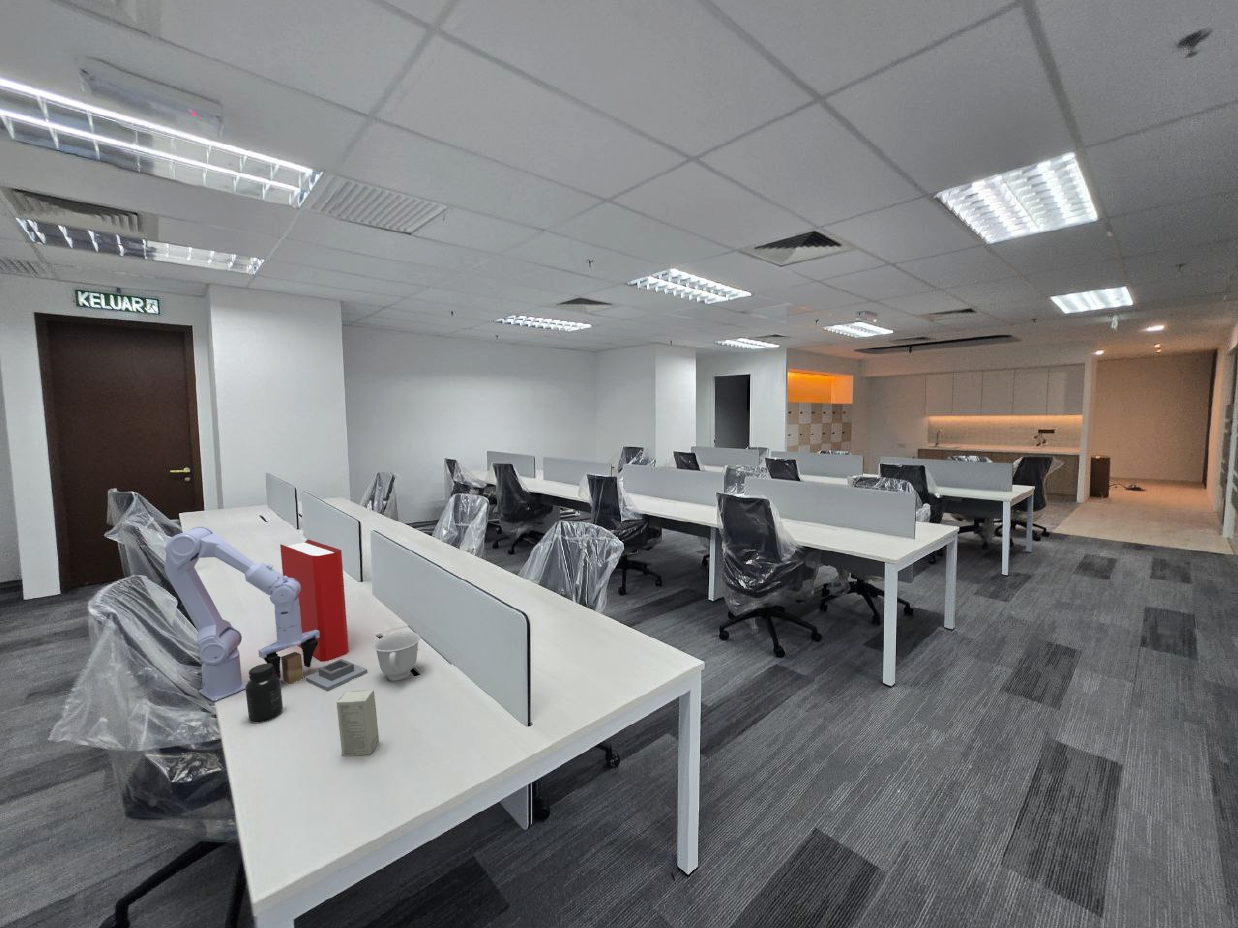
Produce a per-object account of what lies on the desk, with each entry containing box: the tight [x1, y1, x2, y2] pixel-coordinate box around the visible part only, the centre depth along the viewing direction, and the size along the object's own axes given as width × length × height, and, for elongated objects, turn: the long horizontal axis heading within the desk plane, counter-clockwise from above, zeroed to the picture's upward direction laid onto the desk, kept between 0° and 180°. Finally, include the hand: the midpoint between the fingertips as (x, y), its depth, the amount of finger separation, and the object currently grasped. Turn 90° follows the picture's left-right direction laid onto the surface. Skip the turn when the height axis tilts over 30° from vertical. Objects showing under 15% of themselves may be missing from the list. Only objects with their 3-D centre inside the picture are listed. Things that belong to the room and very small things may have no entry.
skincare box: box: [336, 689, 380, 757], centre depth 106 cm, size 6×4×12 cm
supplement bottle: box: [244, 663, 284, 723], centre depth 120 cm, size 7×7×12 cm
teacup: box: [372, 631, 421, 681], centre depth 136 cm, size 12×15×10 cm
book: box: [279, 539, 350, 663], centre depth 157 cm, size 27×8×32 cm, turn 52°
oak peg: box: [280, 651, 304, 685], centre depth 137 cm, size 4×4×7 cm
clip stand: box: [305, 658, 368, 692], centre depth 138 cm, size 11×11×3 cm
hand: (292, 672), depth 137 cm, fingers open, 7 cm apart
